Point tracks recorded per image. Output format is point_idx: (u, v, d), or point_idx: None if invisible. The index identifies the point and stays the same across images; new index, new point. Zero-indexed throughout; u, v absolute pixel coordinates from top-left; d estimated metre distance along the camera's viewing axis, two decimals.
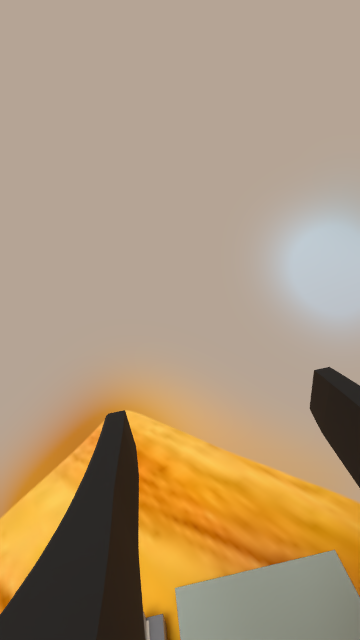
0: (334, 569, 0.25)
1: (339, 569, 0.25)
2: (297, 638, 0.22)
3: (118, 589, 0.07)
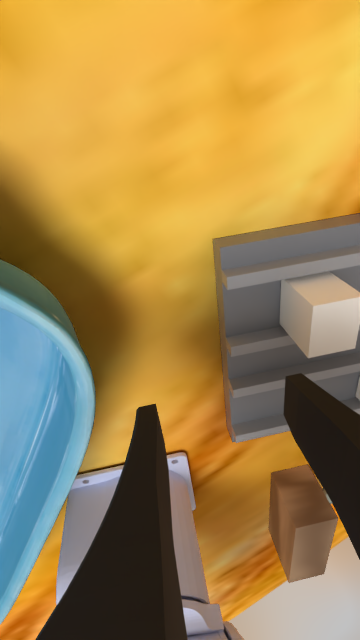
0: None
1: None
2: None
3: (168, 576, 0.07)
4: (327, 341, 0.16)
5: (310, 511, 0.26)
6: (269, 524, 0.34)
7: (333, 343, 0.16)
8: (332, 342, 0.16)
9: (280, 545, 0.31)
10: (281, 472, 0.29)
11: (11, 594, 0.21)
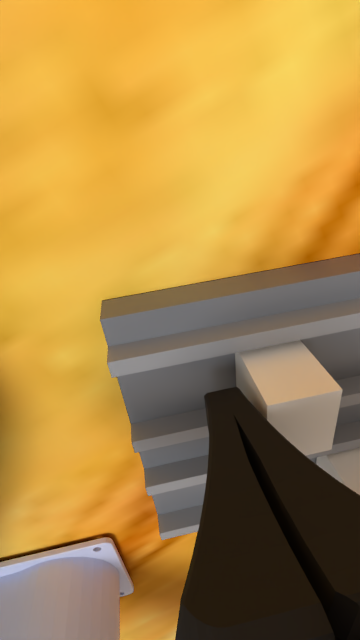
0: None
1: None
2: None
3: None
4: None
5: None
6: None
7: (300, 446, 0.12)
8: (299, 445, 0.11)
9: None
10: None
11: None
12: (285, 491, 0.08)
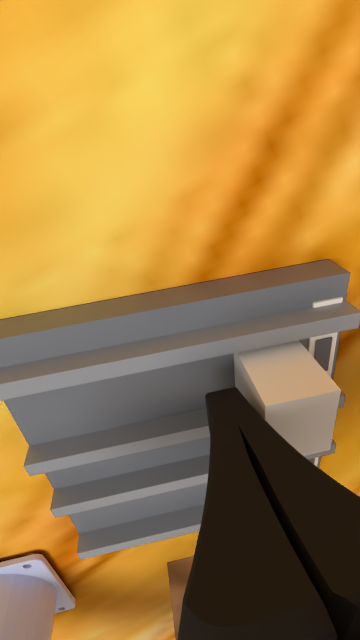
0: None
1: None
2: None
3: None
4: (291, 444, 0.11)
5: None
6: None
7: (298, 446, 0.11)
8: (297, 445, 0.11)
9: None
10: (179, 562, 0.25)
11: None
12: (283, 493, 0.08)
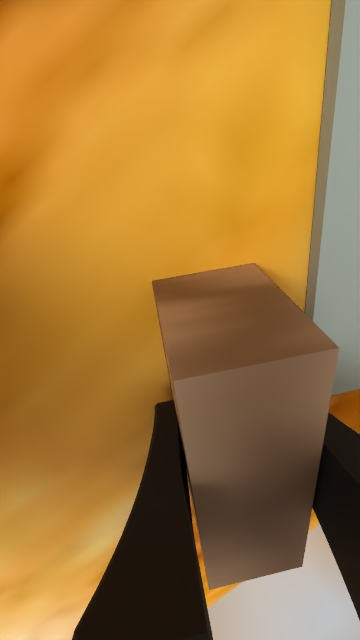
0: None
1: None
2: None
3: (198, 569, 0.07)
4: None
5: (239, 339, 0.07)
6: None
7: None
8: None
9: None
10: (180, 280, 0.11)
11: None
12: (357, 474, 0.08)
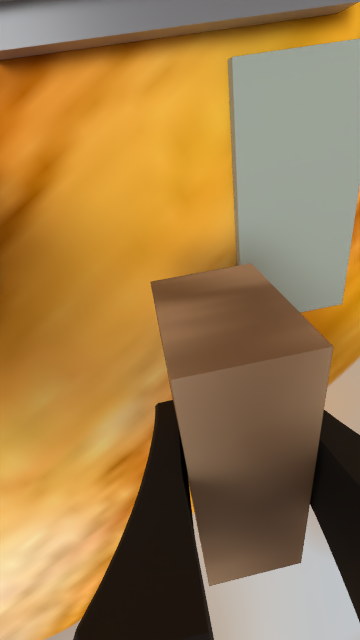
0: (324, 297, 0.20)
1: (322, 302, 0.20)
2: (276, 234, 0.17)
3: (199, 569, 0.07)
4: None
5: (235, 338, 0.08)
6: None
7: None
8: None
9: None
10: (178, 281, 0.11)
11: None
12: (356, 475, 0.08)
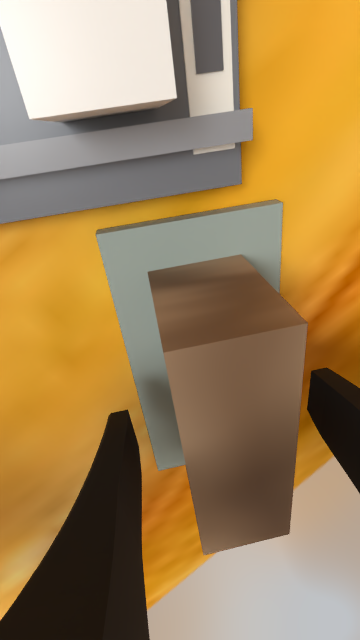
0: None
1: None
2: None
3: (123, 588, 0.07)
4: None
5: (222, 318, 0.08)
6: None
7: None
8: None
9: None
10: (172, 270, 0.12)
11: None
12: None
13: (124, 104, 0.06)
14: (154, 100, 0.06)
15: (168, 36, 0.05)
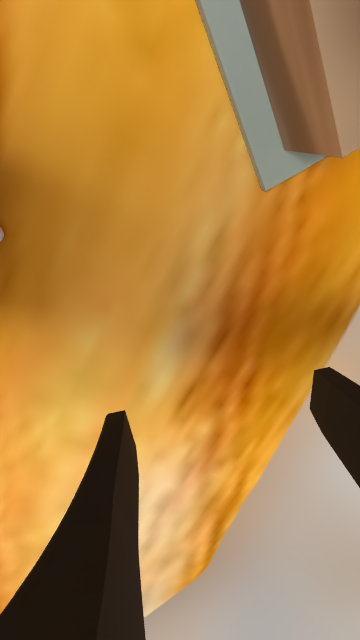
0: None
1: None
2: None
3: (118, 589, 0.07)
4: None
5: None
6: (279, 124, 0.15)
7: None
8: None
9: (296, 87, 0.12)
10: None
11: None
12: None
13: None
14: None
15: None
